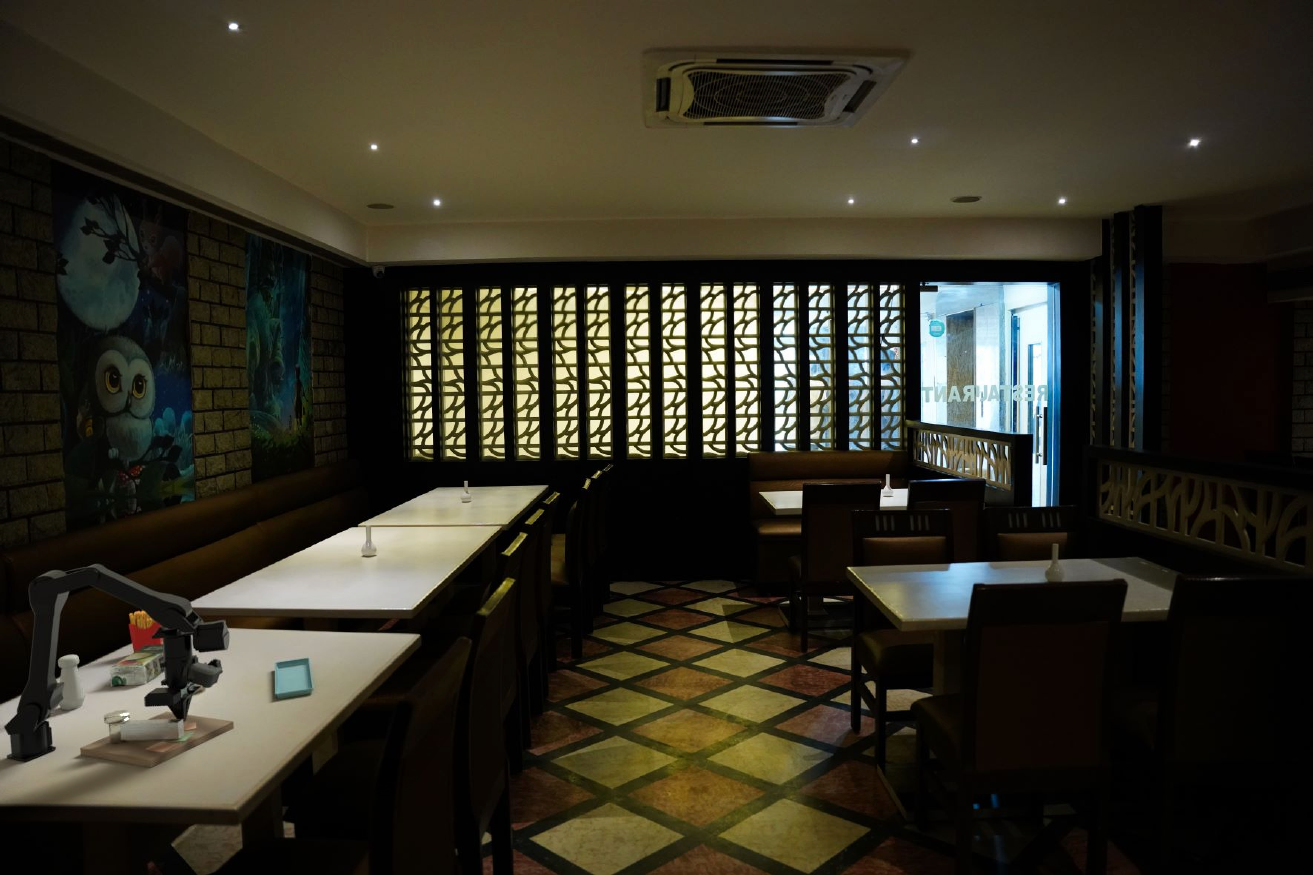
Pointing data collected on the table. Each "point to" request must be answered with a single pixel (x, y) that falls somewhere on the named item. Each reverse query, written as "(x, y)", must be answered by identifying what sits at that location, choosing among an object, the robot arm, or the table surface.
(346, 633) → the table surface
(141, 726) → the bar with metal cap
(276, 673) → the rectangular tray
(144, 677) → the juice carton
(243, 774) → the table surface
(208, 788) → the table surface
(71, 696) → the salt shaker
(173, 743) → the brown cutting board
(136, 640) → the french fries
